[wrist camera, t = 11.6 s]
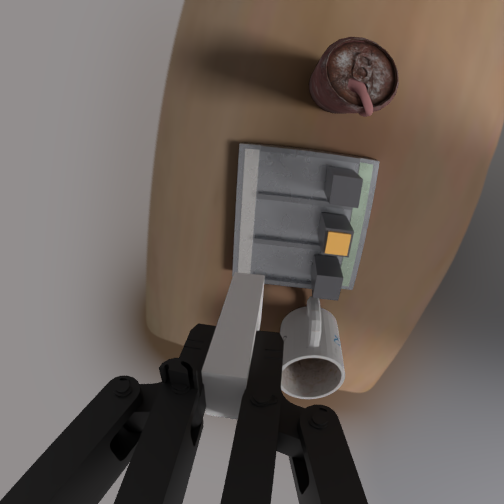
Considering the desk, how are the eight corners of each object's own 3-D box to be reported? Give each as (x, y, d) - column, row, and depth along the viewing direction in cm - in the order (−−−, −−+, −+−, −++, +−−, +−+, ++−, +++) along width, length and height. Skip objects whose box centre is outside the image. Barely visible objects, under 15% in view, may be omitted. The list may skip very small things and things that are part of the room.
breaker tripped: (321, 212, 35) (326, 228, 30) (346, 215, 35) (354, 232, 30) (317, 236, 36) (321, 255, 32) (341, 239, 36) (349, 258, 31)
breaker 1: (314, 254, 37) (317, 274, 33) (337, 257, 37) (343, 277, 33) (310, 276, 39) (312, 297, 34) (333, 278, 38) (338, 300, 34)
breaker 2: (327, 166, 33) (333, 174, 28) (353, 170, 32) (363, 179, 28) (324, 191, 34) (329, 204, 29) (349, 195, 34) (358, 208, 29)
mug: (327, 353, 46) (331, 402, 37) (275, 345, 47) (270, 394, 38) (353, 290, 41) (366, 337, 32) (293, 279, 41) (293, 326, 32)
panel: (241, 142, 34) (238, 144, 32) (376, 159, 33) (381, 162, 31) (234, 270, 42) (231, 279, 40) (350, 283, 40) (353, 292, 38)
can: (320, 121, 32) (339, 125, 20) (301, 71, 30) (308, 44, 17) (368, 108, 31) (414, 107, 18) (350, 58, 28) (385, 28, 16)
